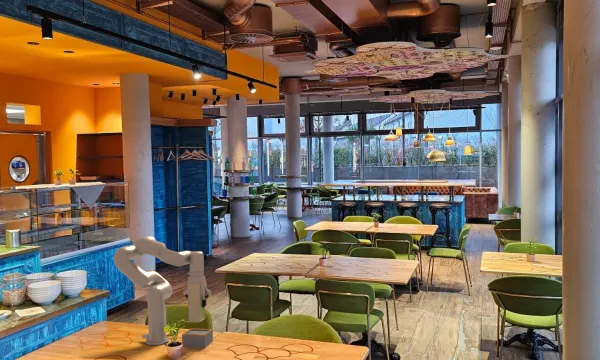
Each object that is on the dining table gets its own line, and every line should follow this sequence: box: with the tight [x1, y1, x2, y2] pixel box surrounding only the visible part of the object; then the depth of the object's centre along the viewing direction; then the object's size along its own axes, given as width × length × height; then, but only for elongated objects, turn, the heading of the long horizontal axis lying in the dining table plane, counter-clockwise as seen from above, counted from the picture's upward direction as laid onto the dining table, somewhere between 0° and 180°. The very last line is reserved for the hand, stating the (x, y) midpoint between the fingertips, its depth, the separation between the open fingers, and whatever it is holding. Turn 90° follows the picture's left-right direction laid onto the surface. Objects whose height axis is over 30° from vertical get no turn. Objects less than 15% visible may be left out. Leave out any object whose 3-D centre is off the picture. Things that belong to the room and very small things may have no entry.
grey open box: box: [181, 328, 214, 349], centre depth 283 cm, size 13×12×7 cm
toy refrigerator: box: [187, 283, 206, 323], centre depth 283 cm, size 8×7×21 cm
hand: (197, 306), depth 283 cm, fingers closed on toy refrigerator, 7 cm apart
